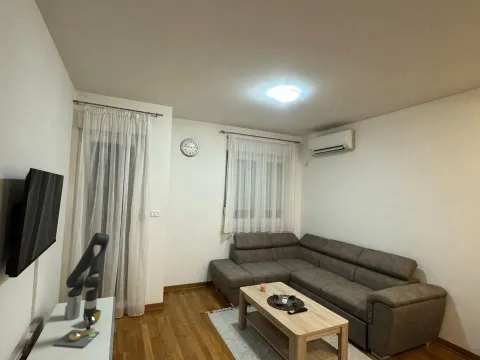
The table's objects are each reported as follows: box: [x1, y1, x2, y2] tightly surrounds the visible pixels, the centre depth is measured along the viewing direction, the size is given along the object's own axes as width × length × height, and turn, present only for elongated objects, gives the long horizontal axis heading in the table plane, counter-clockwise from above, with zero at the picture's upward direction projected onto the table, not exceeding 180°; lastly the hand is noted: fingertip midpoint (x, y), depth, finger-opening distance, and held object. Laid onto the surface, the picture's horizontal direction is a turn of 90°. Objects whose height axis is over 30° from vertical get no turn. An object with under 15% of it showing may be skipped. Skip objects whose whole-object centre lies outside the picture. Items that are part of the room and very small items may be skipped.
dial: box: [69, 327, 96, 342], centre depth 167 cm, size 15×7×4 cm, turn 135°
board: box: [53, 329, 100, 349], centre depth 166 cm, size 21×18×2 cm
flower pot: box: [82, 308, 102, 325], centre depth 186 cm, size 9×9×9 cm
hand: (88, 330), depth 172 cm, fingers closed
